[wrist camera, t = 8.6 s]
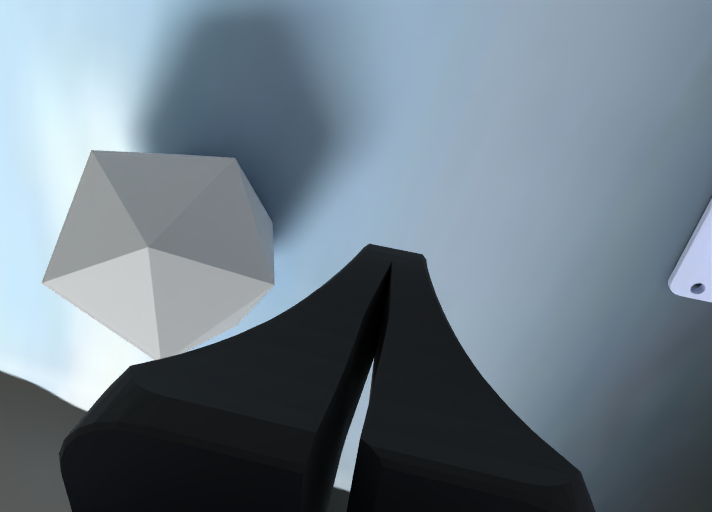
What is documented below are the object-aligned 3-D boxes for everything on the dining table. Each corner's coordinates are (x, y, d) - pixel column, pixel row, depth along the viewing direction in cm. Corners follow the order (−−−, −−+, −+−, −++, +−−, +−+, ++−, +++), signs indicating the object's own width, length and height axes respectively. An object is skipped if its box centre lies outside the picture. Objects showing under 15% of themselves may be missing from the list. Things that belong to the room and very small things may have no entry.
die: (109, 201, 26) (76, 392, 22) (50, 74, 19) (-17, 327, 14) (271, 207, 28) (270, 386, 24) (277, 92, 20) (277, 325, 16)
